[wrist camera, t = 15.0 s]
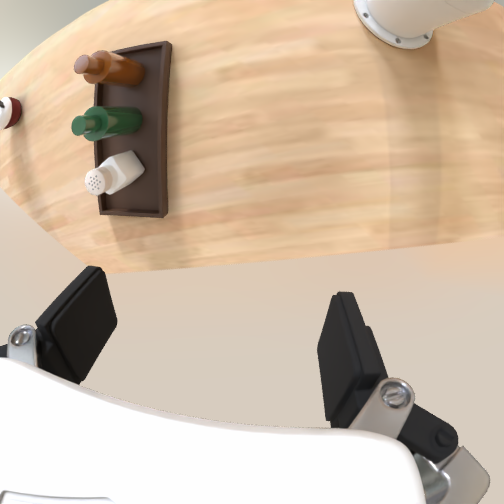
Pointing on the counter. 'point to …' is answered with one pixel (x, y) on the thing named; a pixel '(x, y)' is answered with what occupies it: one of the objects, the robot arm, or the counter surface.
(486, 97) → the counter surface
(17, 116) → the cocoa
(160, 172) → the tray
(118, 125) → the green bottle
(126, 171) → the salt shaker
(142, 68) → the amber bottle
